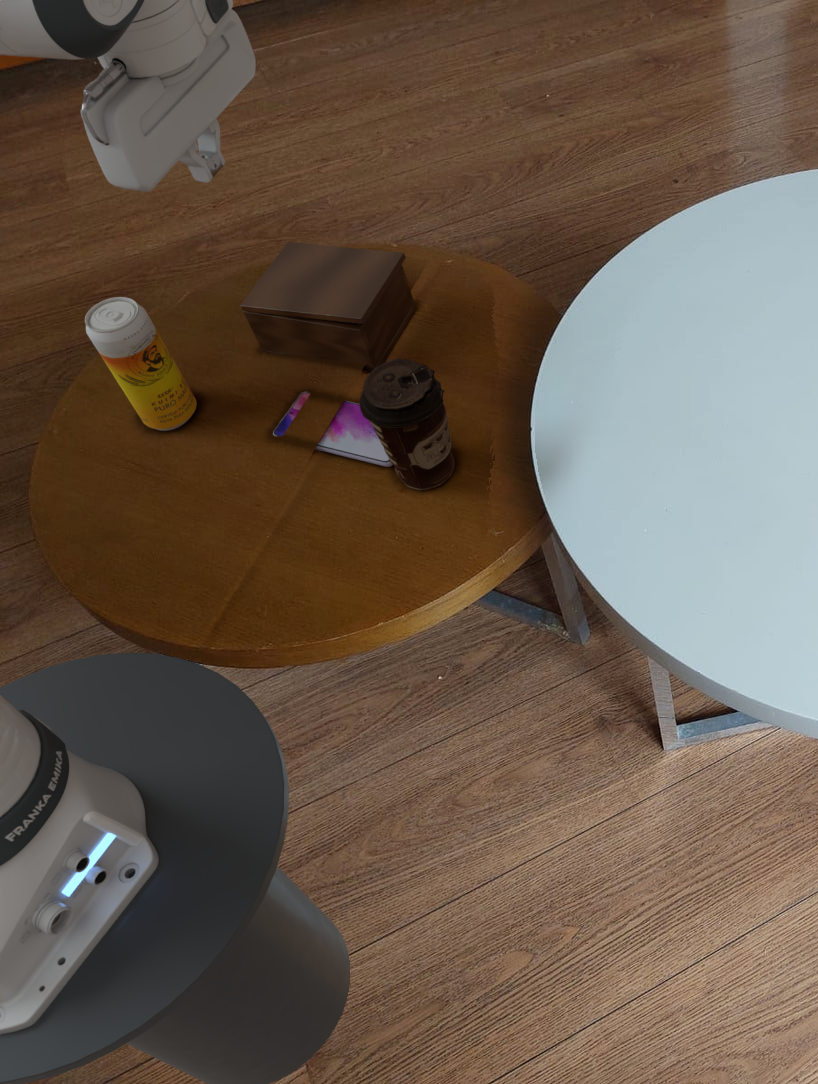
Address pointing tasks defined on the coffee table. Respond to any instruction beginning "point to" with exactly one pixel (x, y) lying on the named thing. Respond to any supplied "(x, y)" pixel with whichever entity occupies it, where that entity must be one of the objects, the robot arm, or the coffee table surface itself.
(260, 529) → the coffee table surface
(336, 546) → the coffee table surface
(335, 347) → the chest
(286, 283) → the lid
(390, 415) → the coffee cup
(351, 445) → the purple white flat pieces
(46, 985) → the robot arm
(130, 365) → the beer can
